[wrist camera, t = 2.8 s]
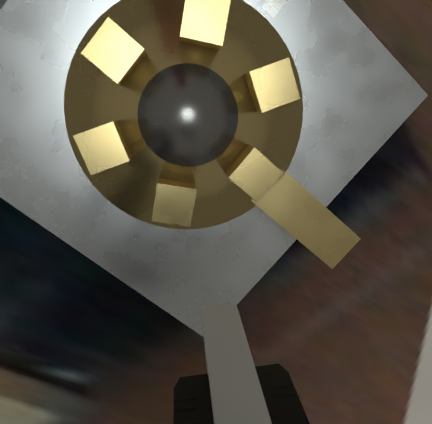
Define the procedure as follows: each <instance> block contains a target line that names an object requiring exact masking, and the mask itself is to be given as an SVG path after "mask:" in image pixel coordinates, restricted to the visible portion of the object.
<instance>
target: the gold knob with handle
mask: <svg viewBox="0 0 432 424" xmlns="http://www.w3.org/2000/svg"><path fill="white" fill-rule="evenodd" d="M64 115H65V124H66V129H67V133H68V138H69V142H70V144H71V147H72V150H73V152H74V155H75V157H76V159H77V161H78V163H79V165H80V167H81V169H82V170H83V172H84V173H85V175H86V176H87V178H88V179H89V180H90V182H91V183H92V185H93V186H94V187H95V188H96V189H97V190H98V191H99V192H100V193H101V194H102V195H103V196H104V197H105V198H106V199H107V200H108V201H110V202H111V203H112V204H113V205H114V206H116V207H117V208H119V209H120V210H122V211H123V212H125V213H126V214H128V215H130V216H132V217H134V218H136V219H139V220H141V221H143V222H146V223H149V224H152V225H155V226H160V227H165V228H171V229H183V230H185V229H201V228H206V227H212V226H216V225H219V224H222V223H226V222H228V221H230V220H232V219H235V218H237V217H239V216H241V215H242V214H244V213H246V212H247V211H249V210H251V209H252V208H253V207H255V206H256V205H257V206H258V207H259V208H260V209H262V210H263V211H264V212H265V213H266V214H267V215H269V216H270V217H271V218H272V219H273V220H275V221H276V222H277V223H278V224H279V225H281V226H282V227H283V228H284V229H285V230H286V231H288V232H289V233H290V234H291V235H292V236H294V237H295V238H296V239H297V240H298V241H300V242H301V243H302V244H303V245H304V246H305V247H307V248H308V249H309V250H310V251H311V252H313V253H314V254H315V255H316V256H317V257H319V258H320V259H321V260H322V261H323V262H324V263H326V264H327V265H328V266H329V267H330V268H332V269H333V268H334V267H335V266H336V265H337V264H338V262H339V261H340V260H341V259H342V258H343V257H344V256H345V255H346V254H347V253H348V252H349V251H350V250H351V249H352V248H353V247H354V245H355V244H356V243H357V242H358V241H359V240H360V238H359V237H358V236H357V235H356V234H355V233H354V232H353V231H352V230H350V229H349V228H348V227H347V226H346V225H345V224H344V223H343V222H342V221H340V220H339V219H338V218H337V217H336V216H335V215H334V214H333V213H331V212H330V211H329V210H328V209H327V208H326V207H325V206H324V205H323V204H321V203H320V202H319V201H318V200H317V199H316V198H315V197H314V196H312V195H311V194H310V193H309V192H308V191H307V190H306V189H305V188H304V187H302V186H301V185H300V184H299V183H298V182H297V181H296V180H295V179H293V178H292V177H291V176H290V175H289V174H288V173H287V172H286V171H287V169H288V167H289V166H290V163H291V161H292V159H293V157H294V154H295V152H296V149H297V145H298V142H299V139H300V134H301V128H302V121H303V98H302V89H301V84H300V79H299V74H298V71H297V68H296V66H295V63H294V60H293V58H292V56H291V54H290V52H289V49H288V47H287V45H286V44H285V42H284V41H283V39H282V38H281V36H280V35H279V33H278V32H277V31H276V29H275V28H274V27H273V26H272V25H271V24H270V22H269V21H268V20H267V19H266V18H265V17H264V16H263V15H261V14H260V13H259V12H258V11H257V10H256V9H255V8H253V7H252V6H250V5H249V4H247V3H246V2H244V1H243V0H120V1H119V2H117V3H116V4H114V5H112V6H111V7H110V8H109V9H108V10H107V11H105V12H104V13H103V14H102V15H101V16H100V17H99V18H98V19H97V20H96V21H95V22H94V23H93V25H92V26H91V27H90V28H89V29H88V31H87V32H86V34H85V35H84V37H83V38H82V40H81V42H80V43H79V45H78V47H77V49H76V51H75V54H74V56H73V58H72V60H71V64H70V67H69V70H68V74H67V78H66V85H65V91H64Z"/></svg>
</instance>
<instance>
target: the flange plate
mask: <svg viewBox="0 0 432 424" xmlns="http://www.w3.org/2000/svg"><path fill="white" fill-rule="evenodd" d="M119 1H120V0H7V2H6V3H5V5H4V6H3V7H2V9H1V10H0V197H1V198H2V199H4V200H5V201H7V202H8V203H9V204H11V205H12V206H14V207H15V208H17V209H18V210H20V211H21V212H23V213H24V214H25V215H27V216H28V217H30V218H31V219H33V220H34V221H36V222H37V223H39V224H40V225H41V226H43V227H44V228H46V229H47V230H49V231H50V232H52V233H53V234H54V235H56V236H57V237H59V238H60V239H62V240H63V241H65V242H66V243H68V244H69V245H70V246H72V247H73V248H75V249H76V250H78V251H79V252H81V253H82V254H83V255H85V256H86V257H88V258H89V259H91V260H92V261H94V262H95V263H97V264H98V265H99V266H101V267H102V268H104V269H105V270H107V271H108V272H110V273H111V274H113V275H114V276H115V277H117V278H118V279H120V280H121V281H123V282H124V283H126V284H127V285H128V286H130V287H131V288H133V289H134V290H136V291H137V292H139V293H140V294H142V295H143V296H144V297H146V298H147V299H149V300H150V301H152V302H153V303H155V304H156V305H157V306H159V307H160V308H162V309H163V310H165V311H166V312H168V313H169V314H171V315H172V316H173V317H175V318H176V319H178V320H179V321H181V322H182V323H184V324H185V325H187V326H188V327H189V328H191V329H192V330H194V331H195V332H197V333H198V334H200V335H201V336H202V337H203V326H202V315H201V306H207V305H216V304H225V303H233V302H236V305H237V304H238V303H239V302H240V301H241V300H242V299H243V298H244V296H245V295H246V294H247V293H248V292H249V291H250V290H251V289H252V288H253V287H254V285H255V284H256V283H257V282H258V281H259V280H260V279H261V278H262V277H263V276H264V275H265V273H266V272H267V271H268V270H269V269H270V268H271V267H272V266H273V265H274V264H275V262H276V261H277V260H278V259H279V258H280V257H281V256H282V255H283V254H284V253H285V251H286V250H287V249H288V248H289V247H290V246H291V245H292V244H293V243H294V242H295V241H296V238H295V237H294V236H292V235H291V234H290V233H289V232H288V231H286V230H285V229H284V228H283V227H282V226H281V225H279V224H278V223H277V222H276V221H275V220H273V219H272V218H271V217H270V216H269V215H267V214H266V213H265V212H264V211H263V210H262V209H260V208H259V207H258V206H257V205H256V206H255V207H253V208H252V209H251V210H249V211H247V212H246V213H244V214H242V215H241V216H239V217H237V218H235V219H232V220H230V221H228V222H226V223H222V224H219V225H216V226H212V227H206V228H201V229H185V230H183V229H171V228H165V227H160V226H155V225H152V224H149V223H146V222H143V221H141V220H139V219H136V218H134V217H132V216H130V215H128V214H126V213H125V212H123V211H122V210H120V209H119V208H117V207H116V206H114V205H113V204H112V203H111V202H110V201H108V200H107V199H106V198H105V197H104V196H103V195H102V194H101V193H100V192H99V191H98V190H97V189H96V188H95V187H94V186H93V185H92V183H91V182H90V180H89V179H88V178H87V176H86V175H85V173H84V172H83V170H82V169H81V167H80V165H79V163H78V161H77V159H76V157H75V155H74V152H73V150H72V147H71V144H70V142H69V138H68V133H67V129H66V124H65V115H64V91H65V85H66V78H67V74H68V70H69V67H70V64H71V60H72V58H73V56H74V54H75V51H76V49H77V47H78V45H79V43H80V42H81V40H82V38H83V37H84V35H85V34H86V32H87V31H88V29H89V28H90V27H91V26H92V25H93V23H94V22H95V21H96V20H97V19H98V18H99V17H100V16H101V15H102V14H103V13H104V12H105V11H107V10H108V9H109V8H110V7H111V6H112V5H114V4H116V3H117V2H119ZM243 1H244V2H246V3H247V4H249V5H250V6H252V7H253V8H255V9H256V10H257V11H258V12H259V13H260V14H261V15H263V16H264V17H265V18H266V19H267V20H268V21H269V22H270V24H271V25H272V26H273V27H274V28H275V29H276V31H277V32H278V33H279V35H280V36H281V38H282V39H283V41H284V42H285V44H286V45H287V47H288V49H289V52H290V54H291V56H292V58H293V60H294V63H295V66H296V68H297V71H298V74H299V79H300V84H301V89H302V98H303V121H302V128H301V134H300V139H299V142H298V145H297V149H296V152H295V154H294V157H293V159H292V161H291V163H290V166H289V167H288V169H287V171H286V172H287V173H288V174H289V175H290V176H291V177H292V178H293V179H295V180H296V181H297V182H298V183H299V184H300V185H301V186H302V187H304V188H305V189H306V190H307V191H308V192H309V193H310V194H311V195H312V196H314V197H315V198H316V199H317V200H318V201H319V202H320V203H321V204H323V205H324V206H325V207H327V205H328V204H329V203H330V202H331V201H332V200H333V199H334V198H335V197H336V196H337V194H338V193H339V192H340V191H341V190H342V189H343V188H344V187H345V186H346V185H347V183H348V182H349V181H350V180H351V179H352V178H353V177H354V176H355V175H356V174H357V173H358V171H359V170H360V169H361V168H362V167H363V166H364V165H365V164H366V163H367V162H368V160H369V159H370V158H371V157H372V156H373V155H374V154H375V153H376V152H377V151H378V150H379V148H380V147H381V146H382V145H383V144H384V143H385V142H386V141H387V140H388V139H389V137H390V136H391V135H392V134H393V133H394V132H395V131H396V130H397V129H398V128H399V126H400V125H401V124H402V123H403V122H404V121H405V120H406V119H407V118H408V117H409V116H410V114H411V113H412V112H413V111H414V110H415V109H416V108H417V107H418V106H419V105H420V103H421V102H422V101H423V100H424V99H425V98H426V97H427V96H428V95H427V94H426V92H425V91H424V90H423V89H422V88H421V87H420V86H419V85H418V84H417V82H416V81H415V80H414V79H413V78H412V77H411V76H410V75H409V73H408V72H407V71H406V70H405V69H404V68H403V67H402V66H401V65H400V63H399V62H398V61H397V60H396V59H395V58H394V57H393V56H392V55H391V53H390V52H389V51H388V50H387V49H386V48H385V47H384V46H383V45H382V43H381V42H380V41H379V40H378V39H377V38H376V37H375V36H374V35H373V33H372V32H371V31H370V30H369V29H368V28H367V27H366V26H365V25H364V23H363V22H362V21H361V20H360V19H359V18H358V17H357V16H356V14H355V13H354V12H353V11H352V10H351V9H350V8H349V7H348V6H347V4H346V3H345V2H344V1H343V0H243Z"/></svg>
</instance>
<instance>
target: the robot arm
mask: <svg viewBox="0 0 432 424" xmlns="http://www.w3.org/2000/svg"><path fill="white" fill-rule="evenodd" d="M201 315H202V326H203V337H204V347H205V358H206V367H207V374H203V375H195V376H187V377H180V378H179V380H178V382H177V384H176V386H175V388H174V424H310V423H309V421H308V418H307V416H306V414H305V411H304V409H303V406H302V404H301V402H300V399H299V397H298V395H297V392H296V390H295V387H294V386H293V382H292V380H291V378H290V375H289V373H288V372H287V371H286V370H285V369H284V368H283V367H282V366H281V365H280V364H273V365H265V366H257V367H255V365H254V362H253V359H252V355H251V352H250V349H249V345H248V342H247V338H246V335H245V332H244V328H243V325H242V322H241V318H240V315H239V312H238V308H237V305H236V302H233V303H225V304H216V305H207V306H201Z"/></svg>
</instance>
